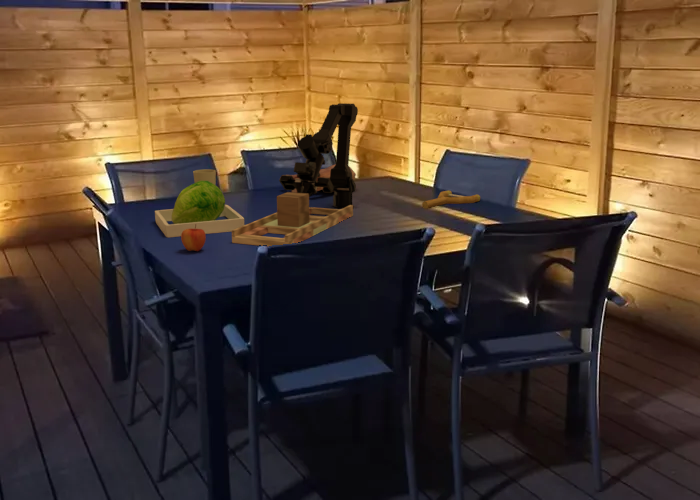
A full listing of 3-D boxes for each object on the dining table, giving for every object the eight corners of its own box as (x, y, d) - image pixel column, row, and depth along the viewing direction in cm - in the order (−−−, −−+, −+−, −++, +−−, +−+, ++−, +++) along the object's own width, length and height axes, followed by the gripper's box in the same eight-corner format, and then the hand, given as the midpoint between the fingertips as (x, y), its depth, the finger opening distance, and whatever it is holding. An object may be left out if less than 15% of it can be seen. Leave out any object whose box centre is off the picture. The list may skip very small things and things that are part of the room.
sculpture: (281, 205, 332) (337, 194, 350) (314, 194, 311) (371, 183, 329) (275, 178, 332) (331, 169, 350) (307, 165, 311) (365, 156, 329)
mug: (223, 200, 315) (221, 171, 312) (200, 203, 309) (198, 173, 306) (211, 196, 324) (210, 167, 321) (189, 199, 318) (187, 170, 315)
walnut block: (288, 220, 267) (287, 192, 265) (309, 222, 264) (308, 193, 261) (277, 225, 260) (276, 196, 257) (298, 227, 257) (298, 197, 254)
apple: (177, 252, 234) (175, 227, 232) (190, 247, 241) (188, 222, 239) (198, 254, 232) (196, 228, 230) (211, 248, 239) (209, 223, 236)
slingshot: (407, 198, 301) (446, 189, 318) (407, 206, 302) (446, 197, 319) (443, 204, 289) (481, 194, 307) (443, 212, 290) (481, 202, 307)
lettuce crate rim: (227, 215, 286) (227, 204, 285) (245, 230, 263) (244, 218, 262) (155, 221, 277) (154, 210, 276) (166, 237, 253) (165, 225, 252)
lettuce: (184, 217, 282) (157, 189, 270) (231, 191, 279) (206, 161, 267) (189, 249, 270) (160, 221, 258) (238, 222, 267) (211, 192, 255)
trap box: (304, 211, 291) (303, 201, 290) (352, 215, 283) (352, 205, 282) (232, 242, 246) (231, 230, 245) (287, 248, 238) (287, 235, 237)
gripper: (280, 151, 268) (266, 188, 261) (329, 154, 261) (316, 191, 254) (291, 171, 277) (278, 207, 270) (339, 173, 270) (326, 210, 263)
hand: (299, 203), depth 264 cm, fingers closed
